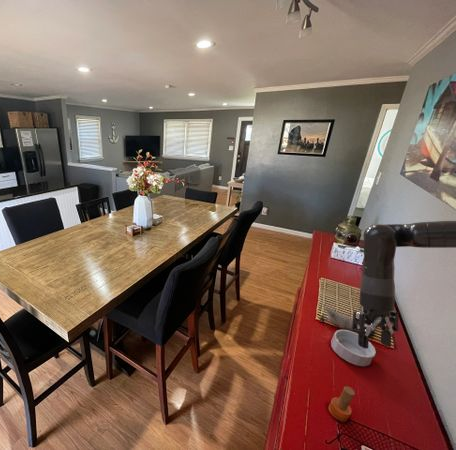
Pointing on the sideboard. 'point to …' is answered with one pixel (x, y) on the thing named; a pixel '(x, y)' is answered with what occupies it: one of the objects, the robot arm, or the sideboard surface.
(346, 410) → the brush
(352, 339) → the bowl
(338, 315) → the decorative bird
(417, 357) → the sideboard surface
